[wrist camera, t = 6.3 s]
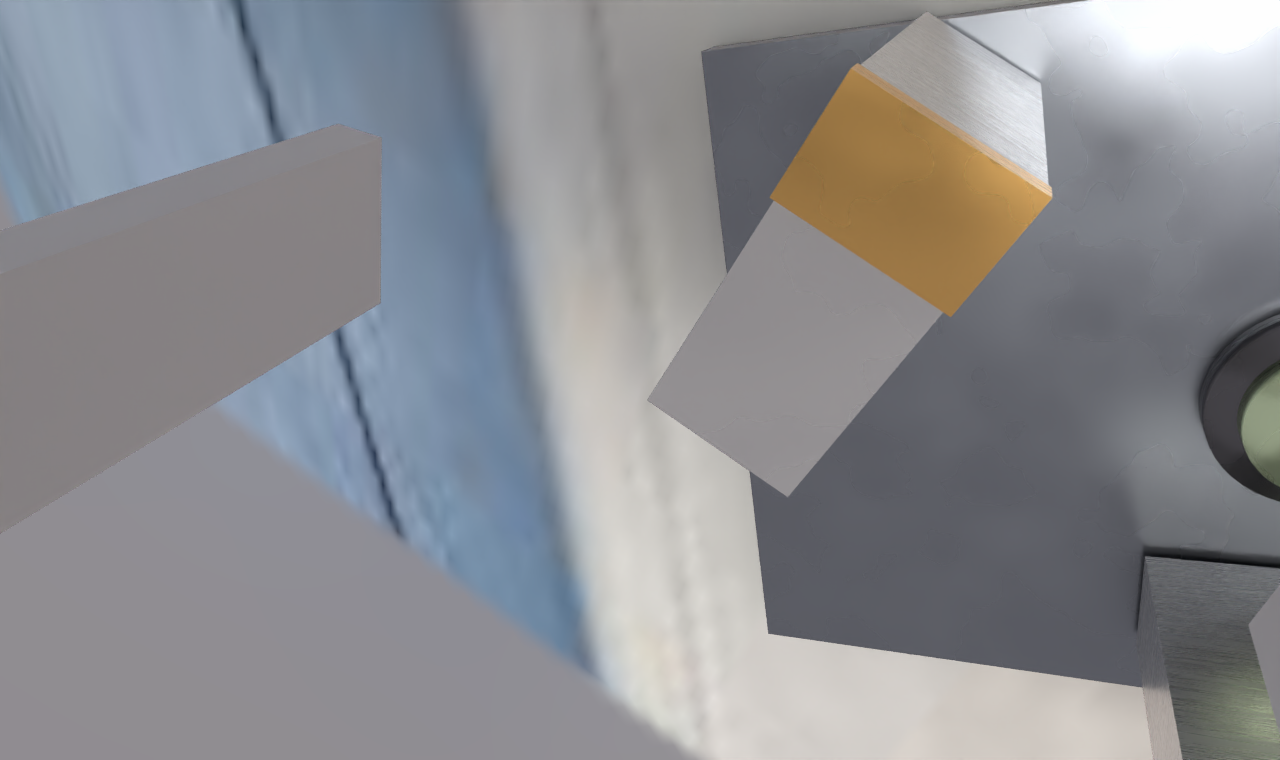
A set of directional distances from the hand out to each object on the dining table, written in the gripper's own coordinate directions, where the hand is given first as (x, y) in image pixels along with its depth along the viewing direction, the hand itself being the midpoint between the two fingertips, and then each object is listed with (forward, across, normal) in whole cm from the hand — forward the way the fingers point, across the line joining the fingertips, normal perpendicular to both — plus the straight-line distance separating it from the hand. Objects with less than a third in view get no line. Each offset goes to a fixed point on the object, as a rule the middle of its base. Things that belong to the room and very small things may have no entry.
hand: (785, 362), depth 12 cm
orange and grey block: (+13, 0, -1) cm, 13 cm away
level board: (+14, +12, -4) cm, 19 cm away
